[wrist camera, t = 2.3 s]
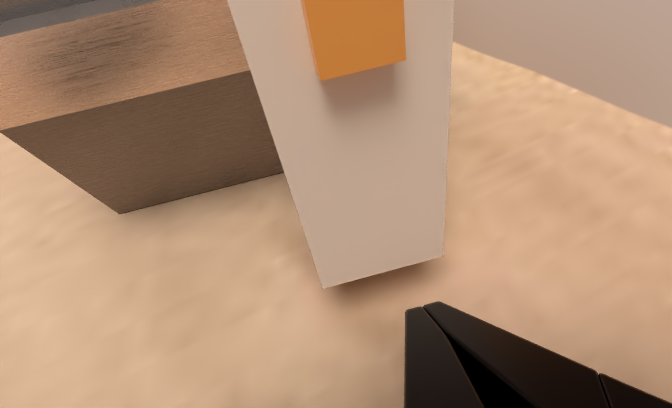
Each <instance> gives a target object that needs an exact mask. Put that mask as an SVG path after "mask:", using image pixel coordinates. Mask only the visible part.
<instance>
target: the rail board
mask: <svg viewBox="0 0 672 408" xmlns="http://www.w3.org/2000/svg"><path fill="white" fill-rule="evenodd" d="M0 132H1V133H2V134H4V135H5V136H6V137H8V138H9V139H11V140H12V141H14V142H15V143H17V144H18V145H20V146H21V147H22V148H24V149H25V150H27V151H28V152H30V153H31V154H33V155H34V156H36V157H37V158H38V159H40V160H41V161H43V162H44V163H46V164H47V165H49V166H50V167H52V168H53V169H54V170H56V171H57V172H59V173H60V174H62V175H63V176H65V177H66V178H68V179H69V180H70V181H72V182H73V183H75V184H76V185H78V186H79V187H81V188H82V189H84V190H85V191H86V192H88V193H89V194H91V195H92V196H94V197H95V198H97V199H98V200H100V201H101V202H102V203H104V204H105V205H107V206H108V207H110V208H111V209H113V210H114V211H116V212H117V213H118V214H121V213H125V212H129V211H133V210H137V209H141V208H145V207H148V206H152V205H156V204H160V203H164V202H168V201H172V200H176V199H180V198H184V197H188V196H192V195H196V194H200V193H203V192H207V191H211V190H215V189H219V188H223V187H227V186H231V185H235V184H239V183H243V182H247V181H251V180H255V179H259V178H262V177H266V176H270V175H274V174H278V173H282V172H284V170H283V167H282V164H281V161H280V158H279V155H278V152H277V149H276V146H275V143H274V140H273V137H272V134H271V131H270V128H269V125H268V122H267V119H266V116H265V113H264V110H263V107H262V104H261V101H260V98H259V95H258V92H257V89H256V86H255V83H254V80H253V77H252V74H251V71H250V68H249V65H248V62H247V59H246V56H245V53H244V50H243V47H242V44H241V41H240V38H239V35H238V32H237V29H236V26H235V23H234V20H233V17H232V14H231V11H230V8H229V5H228V2H227V0H0Z"/></svg>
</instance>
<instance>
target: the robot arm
mask: <svg viewBox="0 0 672 408" xmlns="http://www.w3.org/2000/svg"><path fill="white" fill-rule="evenodd" d="M404 408H672V403H670V402H668V401H665V400H663V399H660V398H658V397H656V396H653V395H651V394H649V393H646V392H644V391H642V390H639V389H637V388H635V387H632V386H630V385H627V384H625V383H623V382H621V381H618V380H616V379H614V378H612V377H609V376H607V375H605V374H603V373H600V374H599V375H598V373H597V372H596V371H595V370H593V369H591V368H589V367H586V366H584V365H582V364H580V363H577V362H575V361H573V360H571V359H568V358H566V357H564V356H562V355H559V354H557V353H555V352H553V351H550V350H548V349H546V348H544V347H541V346H539V345H537V344H535V343H532V342H530V341H528V340H526V339H523V338H521V337H519V336H517V335H514V334H512V333H510V332H508V331H505V330H503V329H501V328H499V327H496V326H494V325H492V324H489V323H487V322H485V321H483V320H480V319H478V318H476V317H474V316H471V315H469V314H467V313H465V312H462V311H460V310H458V309H456V308H453V307H451V306H449V305H447V304H444V303H442V302H434V303H430V304H427V305H424V306H423V307H416V308H412V309H408V310H406V312H405V369H404Z"/></svg>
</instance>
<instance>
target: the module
mask: <svg viewBox="0 0 672 408" xmlns="http://www.w3.org/2000/svg"><path fill="white" fill-rule="evenodd" d="M227 2H228V5H229V8H230V11H231V14H232V17H233V20H234V23H235V26H236V29H237V32H238V35H239V38H240V41H241V44H242V47H243V50H244V53H245V56H246V59H247V62H248V65H249V68H250V71H251V74H252V77H253V80H254V83H255V86H256V89H257V92H258V95H259V98H260V101H261V104H262V107H263V110H264V113H265V116H266V119H267V122H268V125H269V128H270V131H271V134H272V137H273V140H274V143H275V146H276V149H277V152H278V155H279V158H280V161H281V164H282V167H283V170H284V173H285V176H286V179H287V182H288V185H289V188H290V191H291V194H292V197H293V200H294V203H295V206H296V209H297V212H298V215H299V218H300V221H301V224H302V227H303V230H304V233H305V236H306V239H307V242H308V245H309V248H310V251H311V254H312V257H313V260H314V263H315V266H316V269H317V272H318V275H319V278H320V281H321V284H322V287H323V289H324V288H328V287H331V286H335V285H339V284H343V283H346V282H350V281H354V280H357V279H361V278H365V277H368V276H372V275H376V274H380V273H383V272H387V271H391V270H394V269H398V268H402V267H406V266H409V265H413V264H417V263H420V262H424V261H428V260H431V259H435V258H439V257H443V252H444V229H445V205H446V182H447V158H448V135H449V111H450V87H451V64H452V40H453V17H454V16H453V15H454V0H227Z"/></svg>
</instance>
